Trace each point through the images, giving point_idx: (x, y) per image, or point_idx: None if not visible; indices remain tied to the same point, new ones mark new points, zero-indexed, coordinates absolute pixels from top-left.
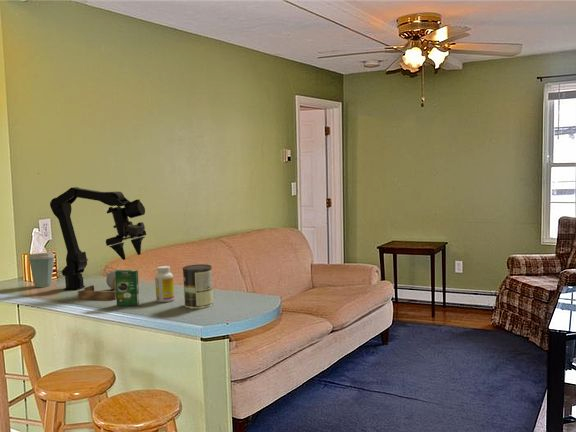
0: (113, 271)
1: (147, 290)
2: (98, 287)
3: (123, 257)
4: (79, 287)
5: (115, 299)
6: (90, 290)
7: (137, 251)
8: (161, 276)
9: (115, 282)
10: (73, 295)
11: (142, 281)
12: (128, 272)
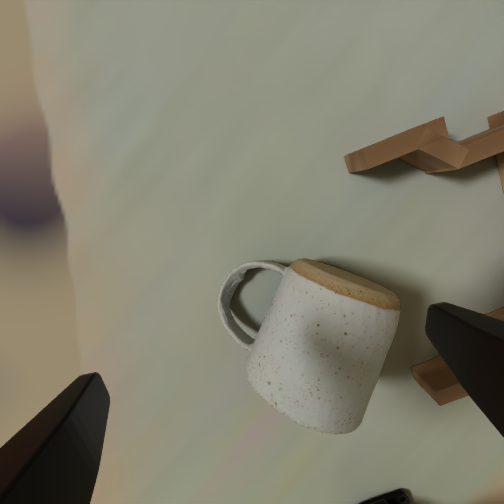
0: (338, 417)
1: (246, 134)
2: (311, 452)
3: (481, 324)
4: (385, 501)
5: (500, 112)
6: None
7: (86, 453)
8: None
9: (385, 289)
10: None
11: None
12: None
